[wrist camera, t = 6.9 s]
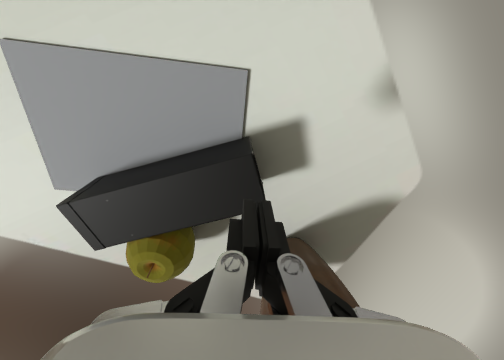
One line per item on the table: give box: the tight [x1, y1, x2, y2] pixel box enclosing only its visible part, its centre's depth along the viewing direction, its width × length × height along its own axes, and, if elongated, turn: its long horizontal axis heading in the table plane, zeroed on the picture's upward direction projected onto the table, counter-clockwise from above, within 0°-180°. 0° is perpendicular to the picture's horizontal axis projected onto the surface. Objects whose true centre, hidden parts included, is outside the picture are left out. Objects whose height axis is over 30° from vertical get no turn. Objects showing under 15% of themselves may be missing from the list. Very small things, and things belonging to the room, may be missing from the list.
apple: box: [126, 227, 195, 283], centre depth 31 cm, size 10×10×11 cm
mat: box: [0, 39, 248, 191], centre depth 29 cm, size 20×29×1 cm
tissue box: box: [56, 136, 266, 251], centre depth 28 cm, size 8×8×28 cm
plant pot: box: [260, 238, 359, 315], centre depth 33 cm, size 15×15×16 cm
